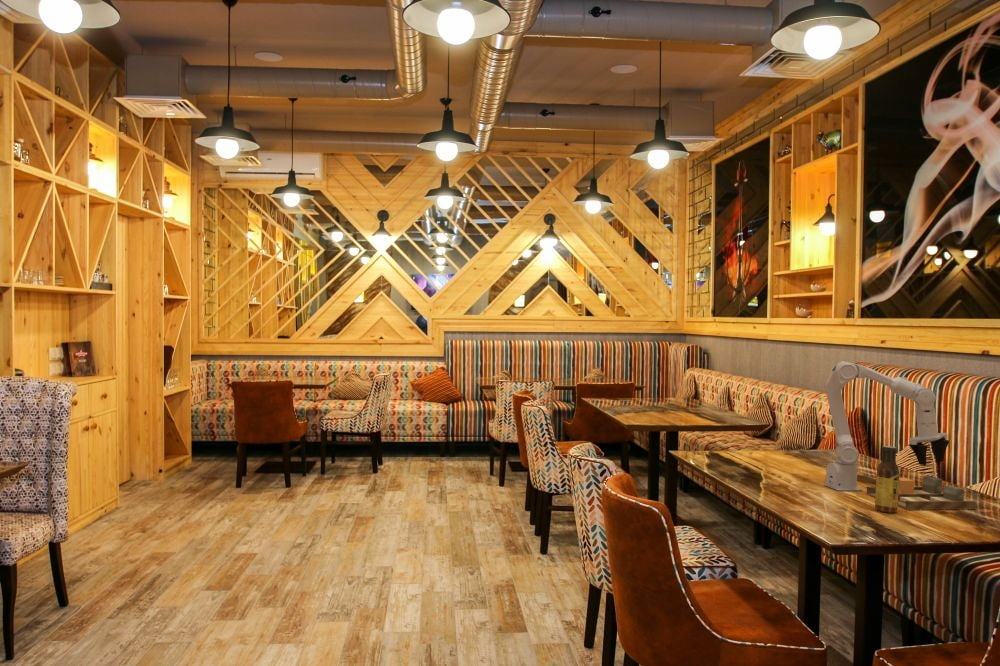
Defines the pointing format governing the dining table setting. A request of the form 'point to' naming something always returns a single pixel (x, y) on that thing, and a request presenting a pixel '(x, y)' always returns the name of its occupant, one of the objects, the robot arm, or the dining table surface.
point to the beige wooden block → (930, 486)
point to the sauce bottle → (887, 481)
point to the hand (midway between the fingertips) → (931, 463)
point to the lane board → (932, 499)
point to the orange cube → (906, 486)
